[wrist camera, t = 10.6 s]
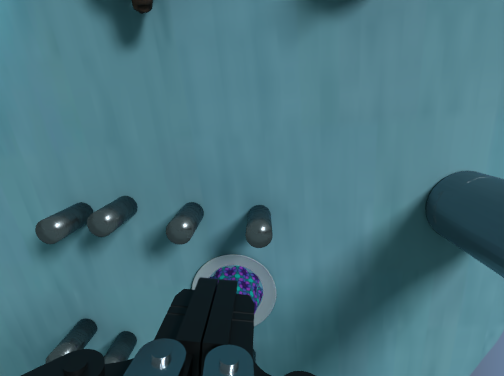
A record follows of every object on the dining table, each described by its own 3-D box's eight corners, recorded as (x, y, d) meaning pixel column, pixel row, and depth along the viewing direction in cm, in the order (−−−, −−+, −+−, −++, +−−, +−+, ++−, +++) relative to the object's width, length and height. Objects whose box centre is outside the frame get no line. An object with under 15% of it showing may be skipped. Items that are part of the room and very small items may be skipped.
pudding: (199, 330, 47) (192, 356, 41) (186, 256, 44) (176, 275, 39) (280, 323, 46) (282, 349, 41) (271, 248, 43) (272, 265, 38)
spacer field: (271, 206, 41) (273, 224, 35) (254, 363, 47) (253, 405, 40) (70, 187, 42) (33, 201, 35) (78, 346, 47) (47, 385, 41)
